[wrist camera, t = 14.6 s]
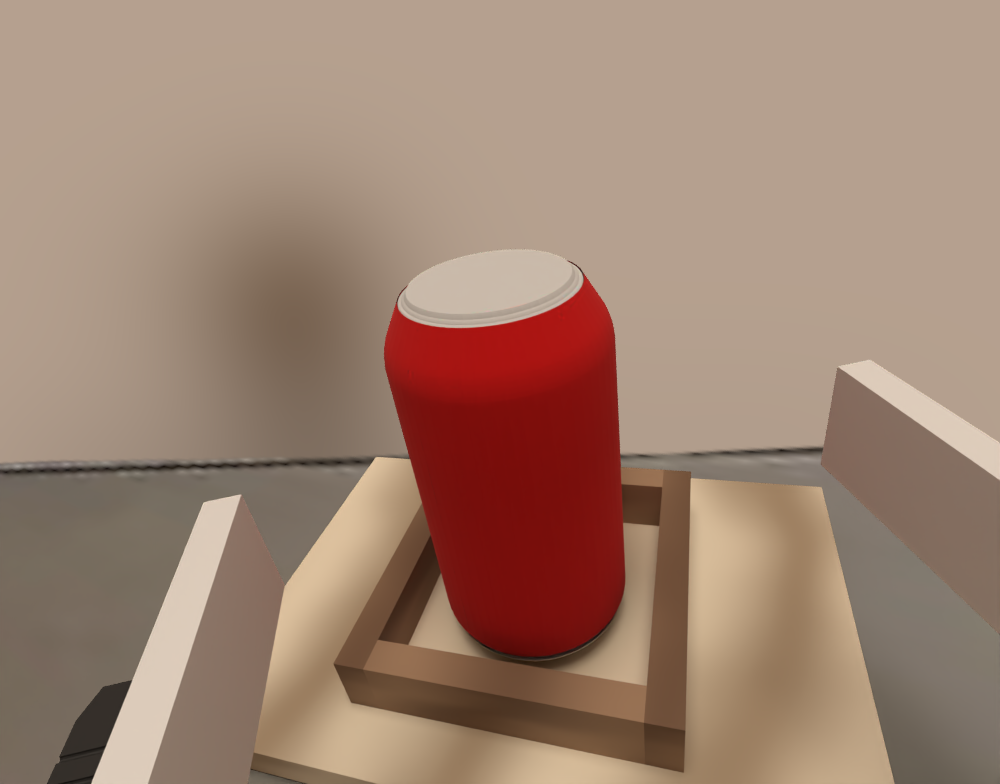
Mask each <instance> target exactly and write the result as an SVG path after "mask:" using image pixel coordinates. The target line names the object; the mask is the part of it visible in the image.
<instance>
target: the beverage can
mask: <svg viewBox="0 0 1000 784" xmlns="http://www.w3.org/2000/svg"><path fill="white" fill-rule="evenodd" d="M384 360H385V369H386V373H387V377H388V380H389V384H390V388H391V391H392V395H393V399H394V402H395V406H396V409H397V413H398V417H399V420H400V424H401V428H402V432H403V435H404V439H405V442H406V446H407V450H408V454H409V457H410V461H411V465H412V468H413V472H414V476H415V479H416V483H417V487H418V490H419V494H420V498H421V501H422V505H423V509H424V512H425V516H426V520H427V523H428V527H429V531H430V534H431V538H432V542H433V545H434V549H435V553H436V556H437V560H438V564H439V567H440V571H441V575H442V578H443V582H444V585H445V589H446V593H447V596H448V600H449V603H450V606H451V609H452V611H453V613H454V615H455V617H456V619H457V620H458V622H459V623H460V624H461V626H462V627H463V628H464V629H465V630H466V631H467V632H468V634H469V635H470V636H471V637H472V638H473V639H474V640H475V641H477V642H478V643H479V644H481V645H482V646H483V647H485V648H486V649H488V650H490V651H492V652H494V653H496V654H499V655H501V656H504V657H507V658H512V659H516V660H524V661H544V660H551V659H557V658H560V657H564V656H567V655H569V654H572V653H575V652H577V651H579V650H581V649H582V648H584V647H586V646H587V645H589V644H590V643H592V642H593V641H594V640H596V639H597V638H598V637H599V636H600V635H601V634H602V633H603V632H604V631H605V630H606V628H607V627H608V626H609V625H610V623H611V622H612V620H613V618H614V617H615V615H616V612H617V610H618V607H619V605H620V603H621V600H622V597H623V594H624V589H625V553H624V530H623V508H622V485H621V462H620V440H619V420H618V419H619V417H618V395H617V373H616V349H615V334H614V327H613V323H612V319H611V317H610V314H609V312H608V309H607V307H606V305H605V303H604V302H603V301H602V299H601V297H600V296H599V295H598V293H597V292H596V290H595V289H594V288H593V286H592V285H591V283H590V282H589V280H588V279H587V277H586V276H585V275H584V273H583V272H582V270H581V269H580V268H579V267H578V266H577V265H575V264H574V263H572V262H570V261H568V260H566V259H564V258H562V257H560V256H558V255H555V254H552V253H548V252H544V251H537V250H525V249H511V250H497V251H488V252H482V253H476V254H471V255H467V256H463V257H459V258H455V259H452V260H449V261H446V262H443V263H441V264H438V265H436V266H434V267H431V268H430V269H428V270H426V271H424V272H422V273H421V274H419V275H418V276H416V277H415V278H414V279H413V280H412V281H411V282H410V283H409V284H408V285H407V286H406V287H405V288H404V289H403V290H402V292H401V293H400V294H399V296H398V299H397V302H396V305H395V308H394V312H393V315H392V318H391V321H390V325H389V328H388V331H387V335H386V340H385V347H384Z"/></svg>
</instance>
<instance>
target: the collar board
mask: <svg viewBox="0 0 1000 784" xmlns="http://www.w3.org/2000/svg"><path fill="white" fill-rule="evenodd" d="M621 485H622V508H623V530H624V553H625V589H624V594H623V597H622V600H621V603H620V605H619V607H618V610H617V612H616V615H615V617H614V618H613V620H612V622H611V623H610V625H609V626H608V627H607V628H606V630H605V631H604V632H603V633H602V634H601V635H600V636H599V637H598V638H597V639H596V640H594V641H593V642H592V643H590V644H589V645H587V646H586V647H584V648H582V649H581V650H579V651H577V652H575V653H572V654H569V655H567V656H564V657H560V658H557V659H551V660H544V661H524V660H516V659H512V658H507V657H504V656H501V655H499V654H496V653H494V652H492V651H490V650H488V649H486V648H485V647H483V646H482V645H481V644H479V643H478V642H477V641H475V640H474V639H473V638H472V637H471V636H470V635H469V634H468V632H467V631H466V630H465V629H464V628H463V627H462V626H461V624H460V623H459V622H458V620H457V619H456V617H455V615H454V613H453V611H452V609H451V606H450V603H449V600H448V596H447V593H446V589H445V585H444V582H443V578H442V575H441V571H440V567H439V564H438V560H437V556H436V553H435V549H434V545H433V542H432V538H431V534H430V531H429V527H428V523H427V520H426V516H425V512H424V509H423V505H422V501H421V498H420V494H419V490H418V487H417V483H416V479H415V476H414V472H413V468H412V465H411V461H410V459H397V458H382V457H376V458H375V459H374V461H373V462H372V464H371V465H370V466H369V468H368V469H367V471H366V472H365V474H364V475H363V476H362V478H361V479H360V481H359V482H358V483H357V485H356V486H355V488H354V489H353V491H352V492H351V493H350V495H349V496H348V498H347V499H346V500H345V502H344V503H343V505H342V506H341V508H340V509H339V510H338V512H337V513H336V515H335V516H334V517H333V519H332V520H331V522H330V523H329V525H328V526H327V527H326V529H325V530H324V532H323V533H322V534H321V536H320V537H319V539H318V540H317V542H316V543H315V544H314V546H313V547H312V549H311V550H310V551H309V553H308V554H307V556H306V557H305V559H304V560H303V561H302V563H301V564H300V566H299V567H298V568H297V570H296V571H295V573H294V574H293V576H292V577H291V578H290V580H289V581H288V583H287V584H286V585H285V587H284V592H283V597H282V603H281V608H280V613H279V619H278V624H277V629H276V635H275V640H274V645H273V651H272V656H271V661H270V667H269V672H268V677H267V683H266V688H265V693H264V699H263V704H262V710H261V715H260V720H259V726H258V731H257V736H256V742H255V747H254V752H253V758H252V763H251V768H250V769H253V770H257V771H260V772H264V773H268V774H272V775H276V776H279V777H283V778H287V779H291V780H295V781H298V782H302V783H306V784H894V779H893V775H892V771H891V767H890V763H889V759H888V755H887V751H886V747H885V743H884V739H883V735H882V731H881V727H880V723H879V719H878V715H877V711H876V707H875V702H874V698H873V694H872V690H871V686H870V682H869V678H868V674H867V670H866V666H865V662H864V658H863V654H862V650H861V646H860V642H859V638H858V634H857V629H856V625H855V621H854V617H853V613H852V609H851V605H850V601H849V597H848V593H847V589H846V585H845V581H844V577H843V573H842V569H841V565H840V561H839V557H838V552H837V548H836V544H835V540H834V536H833V532H832V528H831V524H830V520H829V516H828V512H827V508H826V504H825V500H824V496H823V492H822V488H821V487H810V486H795V485H781V484H766V483H751V482H736V481H722V480H707V479H692V478H691V472H686V471H671V470H656V469H640V468H625V467H621Z"/></svg>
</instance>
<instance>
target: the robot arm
mask: <svg viewBox="0 0 1000 784" xmlns="http://www.w3.org/2000/svg"><path fill="white" fill-rule="evenodd" d="M821 465H822V466H823V467H824V468H825V469H826V470H827V471H828V472H829V473H830V474H832V475H833V476H834V477H835V478H836V479H837V480H838V481H839V482H840V483H841V484H842V485H843V486H844V487H845V488H846V489H847V490H848V491H849V492H850V493H852V494H853V495H854V496H855V497H856V498H857V499H858V500H859V501H860V502H861V503H862V504H863V505H864V506H865V507H866V508H867V509H868V510H869V511H870V512H871V513H873V514H874V515H875V516H876V517H877V518H878V519H879V520H880V521H881V522H882V523H883V524H884V525H885V526H886V527H887V528H888V529H889V530H890V531H891V532H892V533H894V534H895V535H896V536H897V537H898V538H899V539H900V540H901V541H902V542H903V543H904V544H905V545H906V546H907V547H908V548H909V549H910V550H911V551H912V552H914V553H915V554H916V555H917V556H918V557H919V558H920V559H921V560H922V561H923V562H924V563H925V564H926V565H927V566H928V567H929V568H930V569H931V570H932V571H933V572H935V573H936V574H937V575H938V576H939V577H940V578H941V579H942V580H943V581H944V582H945V583H946V584H947V585H948V586H949V587H950V588H951V589H952V590H953V591H954V592H956V593H957V594H958V595H959V596H960V597H961V598H962V599H963V600H964V601H965V602H966V603H967V604H968V605H969V606H970V607H971V608H972V609H973V610H974V611H976V612H977V613H978V614H979V615H980V616H981V617H982V618H983V619H984V620H985V621H986V622H987V623H988V624H989V625H990V626H991V627H992V628H993V629H994V630H995V631H997V632H998V633H999V634H1000V443H999V442H998V441H996V440H994V439H993V438H991V437H990V436H988V435H987V434H985V433H984V432H982V431H981V430H979V429H977V428H976V427H974V426H973V425H971V424H970V423H968V422H967V421H965V420H963V419H962V418H960V417H958V416H957V415H956V414H954V413H952V412H951V411H949V410H948V409H946V408H945V407H943V406H941V405H940V404H938V403H937V402H935V401H933V400H932V399H931V398H929V397H927V396H926V395H924V394H923V393H921V392H920V391H918V390H916V389H915V388H913V387H912V386H910V385H909V384H907V383H905V382H904V381H902V380H901V379H899V378H898V377H896V376H895V375H893V374H891V373H890V372H888V371H887V370H885V369H884V368H882V367H880V366H879V365H877V364H876V363H874V362H873V361H871V360H866V361H861V362H857V363H852V364H847V365H843V366H838V368H837V374H836V379H835V385H834V391H833V396H832V402H831V408H830V414H829V419H828V425H827V431H826V437H825V443H824V448H823V454H822V460H821ZM284 587H285V585H284V583H283V581H282V579H281V577H280V575H279V572H278V570H277V568H276V566H275V564H274V562H273V560H272V558H271V556H270V554H269V551H268V549H267V547H266V545H265V543H264V541H263V539H262V537H261V535H260V533H259V530H258V528H257V526H256V524H255V522H254V520H253V518H252V516H251V514H250V511H249V509H248V507H247V505H246V503H245V501H244V499H243V497H242V495H236V496H231V497H227V498H222V499H217V500H213V501H208V502H204V503H203V505H202V508H201V510H200V513H199V515H198V518H197V520H196V523H195V525H194V528H193V530H192V533H191V535H190V538H189V540H188V543H187V545H186V548H185V550H184V553H183V555H182V558H181V560H180V563H179V565H178V568H177V570H176V573H175V575H174V578H173V580H172V583H171V585H170V588H169V590H168V593H167V595H166V598H165V600H164V603H163V605H162V608H161V610H160V613H159V615H158V618H157V620H156V623H155V625H154V628H153V630H152V633H151V635H150V638H149V640H148V643H147V645H146V648H145V650H144V653H143V655H142V658H141V660H140V663H139V665H138V668H137V670H136V673H135V675H134V678H133V680H131V681H127V682H122V683H118V684H114V685H110V686H105V687H103V688H102V689H101V690H100V692H99V693H98V694H97V695H96V696H95V698H94V699H93V700H92V701H91V703H90V704H89V705H88V706H87V708H86V709H85V710H84V711H83V713H82V714H81V715H80V716H79V718H78V719H77V720H76V722H75V724H74V726H73V728H72V730H71V733H70V735H69V737H68V739H67V741H66V743H65V746H64V748H63V750H62V752H61V754H60V756H59V757H60V762H59V763H58V764H56V765H55V767H54V770H53V772H52V774H51V776H50V778H49V780H48V783H47V784H248V779H249V774H250V768H251V763H252V758H253V752H254V747H255V742H256V736H257V731H258V726H259V720H260V715H261V710H262V704H263V699H264V693H265V688H266V683H267V677H268V672H269V667H270V661H271V656H272V651H273V645H274V640H275V635H276V629H277V624H278V619H279V613H280V608H281V603H282V597H283V592H284Z"/></svg>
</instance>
